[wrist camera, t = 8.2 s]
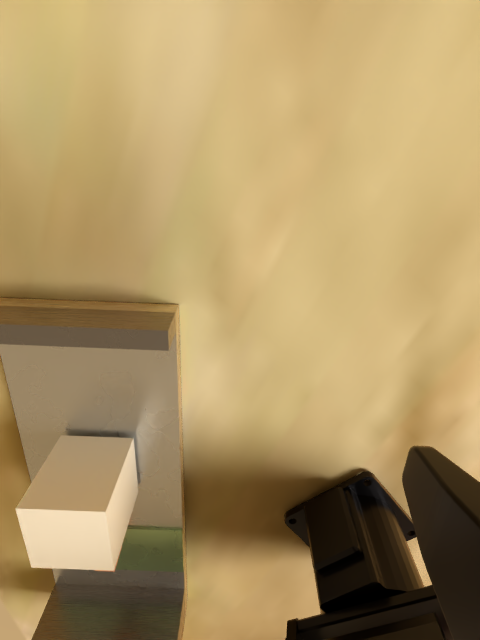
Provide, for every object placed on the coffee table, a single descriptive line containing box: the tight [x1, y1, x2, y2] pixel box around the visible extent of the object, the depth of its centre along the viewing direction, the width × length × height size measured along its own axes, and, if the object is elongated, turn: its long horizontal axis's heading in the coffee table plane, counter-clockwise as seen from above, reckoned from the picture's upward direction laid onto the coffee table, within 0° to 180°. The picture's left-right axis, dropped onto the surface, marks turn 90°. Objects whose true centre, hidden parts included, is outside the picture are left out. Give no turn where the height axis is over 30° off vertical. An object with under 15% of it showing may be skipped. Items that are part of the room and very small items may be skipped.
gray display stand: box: [0, 298, 187, 640], centre depth 23 cm, size 24×9×6 cm, turn 178°
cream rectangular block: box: [15, 435, 138, 572], centre depth 22 cm, size 9×4×5 cm, turn 178°
